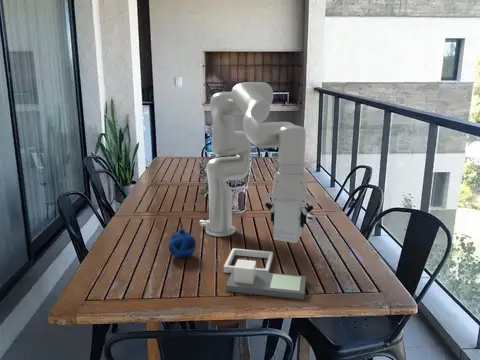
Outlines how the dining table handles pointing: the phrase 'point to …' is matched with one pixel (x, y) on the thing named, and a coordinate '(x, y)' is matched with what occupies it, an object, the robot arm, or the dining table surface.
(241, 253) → the white square frame
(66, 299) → the dining table surface
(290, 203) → the supplement box
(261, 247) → the dining table surface
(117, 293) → the dining table surface
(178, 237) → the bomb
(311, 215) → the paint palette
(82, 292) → the dining table surface
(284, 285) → the grey base with cube
